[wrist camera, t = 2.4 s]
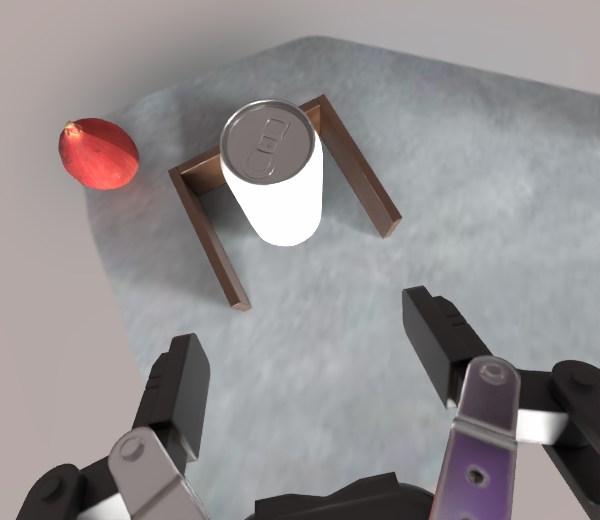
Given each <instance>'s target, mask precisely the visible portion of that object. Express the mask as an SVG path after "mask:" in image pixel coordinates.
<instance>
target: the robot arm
mask: <svg viewBox="0 0 600 520" xmlns="http://www.w3.org/2000/svg"><path fill="white" fill-rule="evenodd" d="M402 308H403V324H404V328H405V331H406V334H407V336H408V338H409V340H410V342H411V344H412V346H413V347H414V349H415V351H416V353H417V355H418V357H419V359H420V361H421V363H422V365H423V366H424V368H425V370H426V372H427V374H428V376H429V378H430V380H431V382H432V383H433V385H434V387H435V389H436V391H437V393H438V395H439V397H440V399H441V400H442V402H443V404H444V406H445V408H446V410H447V409H452V408H456V407H457V413H456V417H455V418H454V420H453V423H452V427H451V431H450V435H449V439H448V443H447V447H446V451H445V455H444V460H443V464H442V468H441V472H440V476H439V480H438V484H437V489H436V493H435V495H434V494H433V493H431V492H429V491H427V490H425V489H423V488H420V487H417V486H414V485H411V484H406V483H398V481H397V478H396V475H395V472H391V473H386V474H381V475H376V476H371V477H367V478H362V479H359V480H357V481H355V482H353V483H352V484H350V485H348V486H346V487H344V488H342V489H340V490H338V491H337V492H335V493H333V494H331V495H329V496H325V497H321V496H310V495H299V494H285V495H280V496H276V497H271V498H266V499H261V500H256V501H255V513H254V514H252V515H250V516H249V517H247V518H246V519H244V520H511V513H512V502H513V490H514V480H515V469H516V457H517V441H521V442H529V443H538V444H542V446H543V448H544V449H545V451H546V452H547V454H548V455H549V457H550V458H551V460H552V461H553V463H554V464H555V466H556V467H557V469H558V471H559V472H560V474H561V475H562V477H563V478H564V480H565V481H566V483H567V484H568V486H569V487H570V489H571V490H572V492H573V493H574V495H575V496H576V498H577V500H578V501H579V503H580V504H581V506H582V507H583V509H584V510H585V512H586V513H587V515H588V516H589V518H590V519H591V520H600V369H598V368H597V367H595V366H593V365H591V364H588V363H585V362H581V361H576V360H565V361H561V362H559V363H557V364H555V366H554V367H553V369H552V372H543V371H529V370H521V369H516V368H515V367H514V366H513V365H512V364H511V363H509V362H508V361H506V360H504V359H502V358H499V357H496V356H494V355H493V354H492V353H491V352H490V351H489V349H488V348H487V347H486V345H485V344H484V343H483V342H482V340H481V339H480V338H479V336H478V335H477V334H476V333H475V331H474V330H473V329H472V327H471V326H470V325H469V324H467V321H466V320H465V318H464V317H463V316H462V315H461V314H460V312H459V311H458V309H457V308H456V307H455V306H454V304H453V303H451V302H450V301H448V300H447V299H445V298H443V297H442V296H437V297H432V296H431V295H430V293H429V292H428V291H427V289H426V288H425V287H424V286H417V287H413V288H408V289H403V291H402ZM209 381H210V365H209V361H208V359H207V357H206V354H205V352H204V350H203V348H202V346H201V344H200V342H199V340H198V337H197V335H196V334H195V333H191V334H186V335H181V336H176V337H174V338H173V339H172V342H171V345H170V349H169V352H167V353H162V354H161V355H160V357H159V358H158V359H157V361H156V362H155V363H154V365H153V366H152V369H151V372H150V375H149V380H148V381H147V384H146V387H145V389H146V390H145V391H144V393H143V396H142V399H141V402H140V406H139V408H138V411H137V414H136V418H135V420H134V423H133V426H132V429H131V431H129V432H127V433H126V434H124V435H123V436H122V437H121V438H120V439H119V440H118V441H117V442H116V443H115V445H114V446H113V448H112V449H111V451H110V454H109V455H108V456H106V457H105V458H103V459H101V460H99V461H97V462H95V463H93V464H91V465H89V466H87V467H85V468H83V469H81V470H79V469H78V468H77V467H76V466H75V465H73V464H62V465H59V466H57V467H55V468H53V469H51V470H50V471H48V472H47V473H46V474H44V475H43V476H42V477H41V478H40V479H39V480H38V481H37V482H36V483H35V484H34V486H33V487H32V488H31V490H30V491H29V493H28V495H27V497H26V499H25V501H24V503H23V505H22V507H21V510H20V512H19V514H18V516H17V518H16V520H213V519H212V518H211V516H210V514H209V513H208V511H207V510H206V508H205V507H204V505H203V503H202V502H201V500H200V499H199V497H198V495H197V494H196V492H195V491H194V489H193V487H192V486H191V484H190V483H189V481H188V480H187V478H186V476H185V475H184V473H185V468H186V463H188V462H193V461H197V460H198V456H199V449H200V442H201V436H202V429H203V422H204V415H205V408H206V401H207V394H208V387H209Z"/></svg>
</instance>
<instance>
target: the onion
mask: <svg viewBox="0 0 600 520" xmlns="http://www.w3.org/2000/svg"><path fill="white" fill-rule="evenodd" d="M59 153H60V156H61V159H62V162H63V165H64V167H65V169H66V170H67V172H69V173H70V174H71V175H72V176H73V177H74V178H76V179H77V180H78V181H79V182H80V183H81V184H83V185H85V186H88V187H91V188H95V189H100V190H107V189H115V188H119V187H121V186H123V185H126V184H127V183H128V182H129V181H130V180H131V179H132V178H133V177H134V176H135V174H136V172H137V170H138V166H139V154H138V150H137V148H136V145H135V143H134V142H133V140H132V139H131V137H130V136H129V135H128V134H127V133H126V132H125V131H124V130H122V129H121V128H120V127H119V126H117V125H116V124H113V123H111V122H108V121H105V120H102V119H97V118H88V119H81V120H77V121H75V122H71V121H69V122H67V123H66V126H65V129H64V130H63V132H62V133H61V135H60V141H59Z"/></svg>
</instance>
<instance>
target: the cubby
mask: <svg viewBox="0 0 600 520" xmlns="http://www.w3.org/2000/svg"><path fill="white" fill-rule="evenodd" d="M299 108H300V109H301V110H302V111H304V112H305V114H306V115H307V116H308V117H309V119H310V120H311V122H312V124H313V127H314V130H315V131H316V133H317V135H318V136H321V138H322V139H323V141H324V143H325V144H326V146H327V147H328V149H329V151H330V152H331V154H332V156H333V157H334V159H335V161H336V162H337V164H338V166H339V167H340V169H341V171H342V172H343V174H344V175H345V177H346V179H347V180H348V182H349V184H350V185H351V187H352V189H353V190H354V192H355V194H356V195H357V197H358V198H359V200H360V202H361V203H362V205H363V207H364V208H365V210H366V212H367V213H368V215H369V217H370V218H371V220H372V222H373V223H374V225H375V226H376V228H377V230H378V231H379V233H380V235H381V236H382V238H383V239H384V238H386V237H388V236H390V235H391V234H392V232H393V231H394V229H395V228H396V226H397V225H398V224H399V222H400V221H401V219H402V216H401V215H400V213H399V212H398V210H397V208H396V207H395V205H394V204H393V202H392V201H391V199H390V197H389V196H388V194H387V193H386V191H385V189H384V188H383V186H382V185H381V183H380V182H379V180H378V178H377V177H376V175H375V174H374V172H373V170H372V169H371V167H370V166H369V164H368V163H367V161H366V159H365V158H364V156H363V155H362V153H361V152H360V150H359V148H358V147H357V145H356V144H355V142H354V140H353V139H352V137H351V136H350V134H349V133H348V131H347V129H346V128H345V126H344V125H343V123H342V121H341V120H340V118H339V117H338V115H337V114H336V112H335V110H334V109H333V107H332V106H331V104H330V103H329V101H328V99H327V98H326V96H325V95H324V94H323V95H321V96H319V97H317V98H316V99H313V100H311V101H309V102H307V103H305V104H303V105H301V106H299ZM168 173H169V175H170V177H171V179H172V182H173V184H174V186H175V188H176V190H177V192H178V194H179V196H180V199H181V201H182V203H183V205H184V207H185V209H186V211H187V214H188V216H189V218H190V220H191V222H192V224H193V226H194V229H195V231H196V233H197V235H198V237H199V239H200V241H201V243H202V246H203V248H204V250H205V252H206V254H207V256H208V258H209V261H210V263H211V265H212V267H213V269H214V271H215V273H216V275H217V278H218V280H219V282H220V284H221V286H222V288H223V290H224V293H225V295H226V297H227V299H228V301H229V303H230V305H231V307H233V308H235V309H238V310H241V311H247V310H249V309H250V308H252V306H251V304H250V302H249V300H248V298H247V296H246V294H245V292H244V290H243V288H242V286H241V284H240V281H239V279H238V277H237V275H236V273H235V271H234V269H233V267H232V265H231V263H230V261H229V259H228V257H227V255H226V252H225V250H224V248H223V246H222V244H221V242H220V240H219V238H218V236H217V234H216V232H215V230H214V228H213V226H212V224H211V221H210V219H209V217H208V215H207V213H206V211H205V209H204V207H203V205H202V203H201V201H200V199H199V197H198V196H199V195H201V194H203V193H205V192H207V191H209V190H211V189H213V188H215V187H217V186H219V185H221V184H223V183H225V182H227V181H226V179H225V177H224V174H223V171H222V168H221V162H220V145H219V146H217V147H215V148H213V149H211V150H209V151H207V152H205V153H203V154H201V155H199V156H197V157H195V158H193V159H191V160H189V161H187V162H185V163H183V164H181V165H179V166H177V167H175V168H173V169H170V170H168Z"/></svg>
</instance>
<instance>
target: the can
mask: <svg viewBox="0 0 600 520" xmlns="http://www.w3.org/2000/svg"><path fill="white" fill-rule="evenodd" d="M220 162H221V168H222V171H223V174H224V177H225V179H226V181H227V183H228V185H229V187H230V188H231V190H232V192H233V194H234V195H235V197H236V199H237V201H238V202H239V204H240V206H241V207H242V209H243V211H244V212H245V214H246V216H247V218H248V219H249V221H250V223H251V224H252V226H253V227H254V229H255V231H256V232H257V233H258V234H259V235H260V237H261V238H263V239H264V240H265V241H267V242H269V243H272V244H275V245H281V246H290V245H295V244H298V243H300V242H302V241H304V240H306V239H307V238H308V237H310V236H311V235H312V234H313V232H314V231H315V230H316V228H317V226H318V224H319V221H320V217H321V205H322V162H323V159H322V147H321V143H320V139H319V137H318V135H317V133H316V131H315V130H314V127H313V124H312V122H311V120H310V119H309V117H308V116H307V115H306V114H305V112H304V111H302V110H301V109H300V108H299V107H297V106H296V105H294V104H292V103H290V102H287V101H284V100H280V99H271V98H270V99H260V100H256V101H252V102H250V103H247V104H245V105H244V106H242V107H240V108H239V109H238V110H236V111H235V112H234V113H233V114H232V115H231V116H230V117H229V119H228V120H227V121H226V123H225V125H224V127H223V129H222V132H221V136H220Z"/></svg>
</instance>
